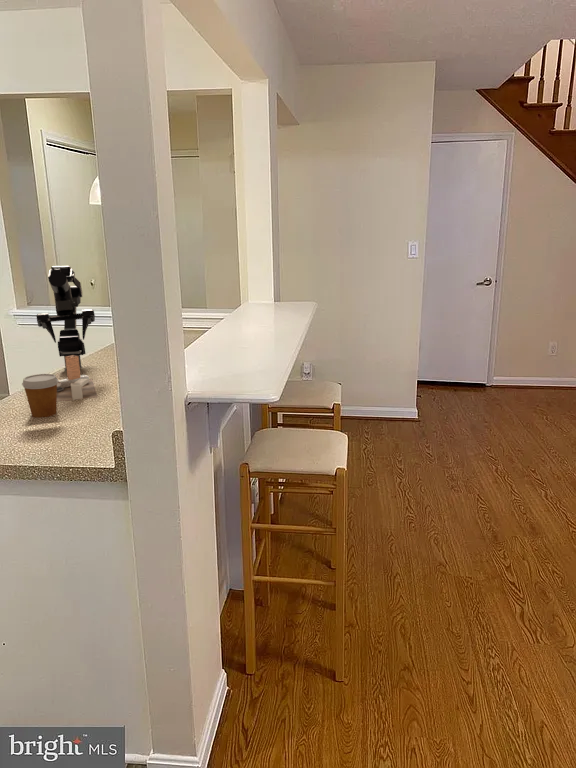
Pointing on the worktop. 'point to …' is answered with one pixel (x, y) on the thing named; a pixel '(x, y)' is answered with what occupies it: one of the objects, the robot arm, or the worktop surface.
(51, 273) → the robot arm
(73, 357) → the lever link
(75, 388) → the block
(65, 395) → the walnut board
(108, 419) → the worktop surface
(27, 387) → the disposable coffee cup
